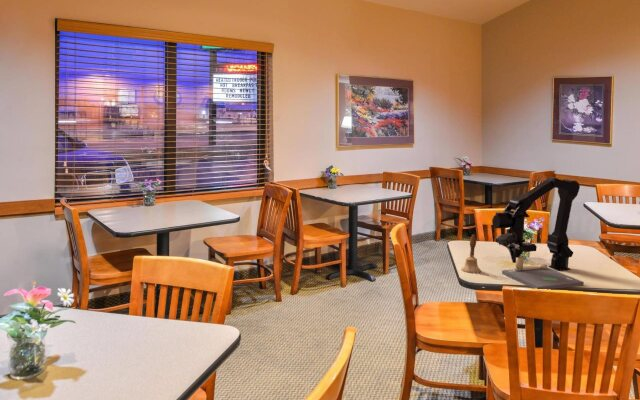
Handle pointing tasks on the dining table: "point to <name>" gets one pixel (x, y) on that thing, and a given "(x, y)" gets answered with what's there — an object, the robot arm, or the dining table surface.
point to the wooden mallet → (520, 266)
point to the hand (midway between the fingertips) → (514, 262)
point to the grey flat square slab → (542, 278)
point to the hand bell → (471, 259)
